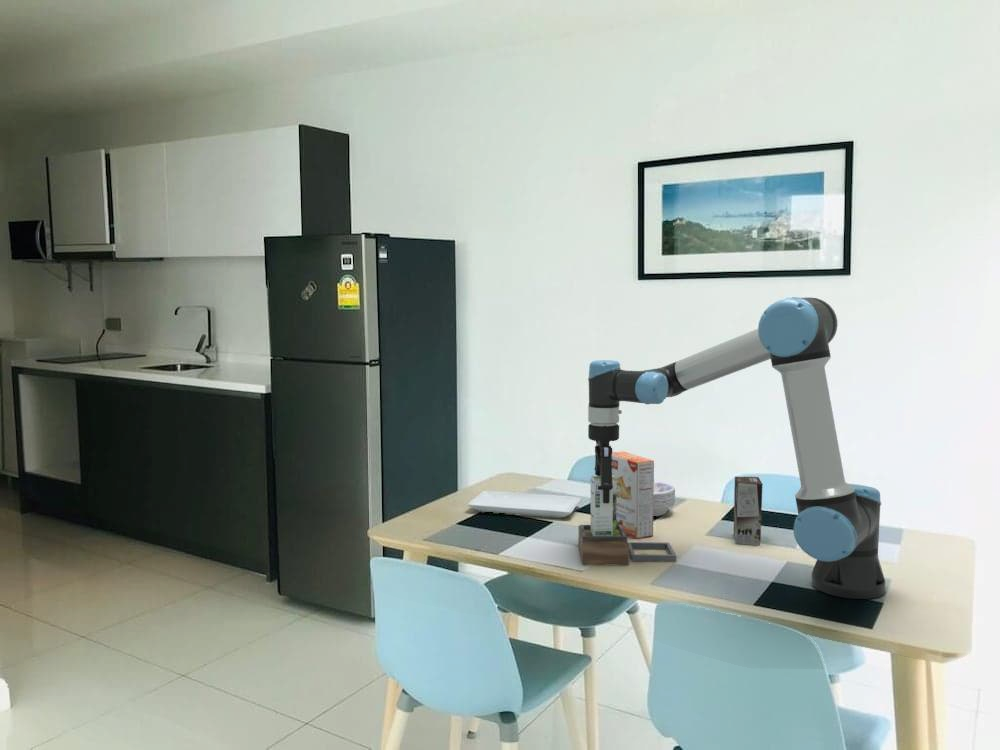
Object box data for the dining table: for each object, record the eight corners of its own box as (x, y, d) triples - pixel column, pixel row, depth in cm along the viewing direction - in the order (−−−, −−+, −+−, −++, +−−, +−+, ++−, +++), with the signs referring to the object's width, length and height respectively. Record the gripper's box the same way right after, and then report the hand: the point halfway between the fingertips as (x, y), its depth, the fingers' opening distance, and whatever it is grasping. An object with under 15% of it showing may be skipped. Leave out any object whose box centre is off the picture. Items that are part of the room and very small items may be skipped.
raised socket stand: (628, 565, 200) (628, 540, 200) (582, 564, 201) (582, 540, 200) (621, 544, 216) (621, 522, 216) (578, 544, 217) (578, 521, 216)
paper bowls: (612, 509, 251) (613, 483, 250) (655, 504, 257) (656, 479, 256) (640, 522, 237) (640, 495, 236) (685, 516, 243) (685, 489, 242)
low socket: (676, 561, 203) (676, 555, 203) (632, 561, 203) (632, 555, 203) (668, 548, 213) (668, 542, 213) (627, 548, 214) (627, 542, 213)
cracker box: (605, 526, 233) (605, 452, 231) (623, 523, 236) (623, 450, 234) (635, 539, 221) (636, 461, 218) (653, 536, 223) (655, 459, 221)
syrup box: (593, 538, 205) (593, 480, 204) (589, 531, 211) (590, 474, 210) (616, 537, 205) (617, 479, 204) (612, 530, 211) (613, 474, 210)
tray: (570, 523, 238) (570, 511, 237) (466, 514, 247) (466, 503, 247) (582, 508, 254) (582, 496, 254) (483, 500, 263) (483, 490, 263)
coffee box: (761, 545, 215) (763, 484, 214) (735, 544, 216) (736, 483, 215) (757, 535, 224) (759, 476, 222) (732, 534, 225) (734, 475, 224)
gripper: (625, 432, 193) (624, 522, 195) (613, 415, 217) (613, 496, 220) (592, 432, 193) (591, 522, 195) (584, 415, 218) (584, 495, 220)
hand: (603, 508), depth 207 cm, fingers open, 13 cm apart
